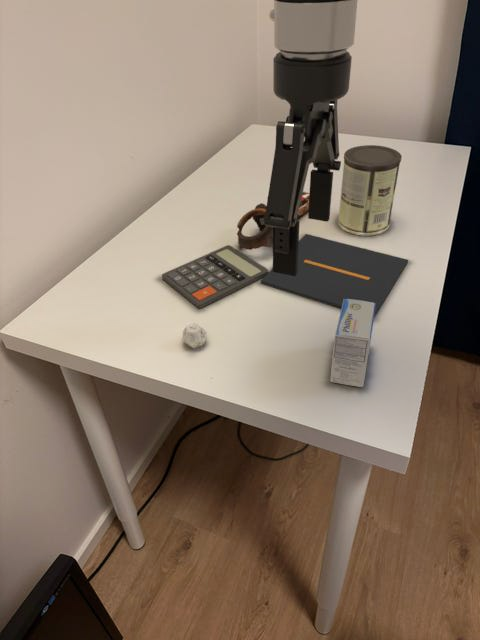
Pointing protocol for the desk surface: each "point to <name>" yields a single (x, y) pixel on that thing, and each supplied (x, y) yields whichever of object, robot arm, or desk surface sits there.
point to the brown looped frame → (266, 231)
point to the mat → (339, 273)
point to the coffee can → (368, 189)
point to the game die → (194, 335)
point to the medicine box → (352, 342)
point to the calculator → (214, 275)
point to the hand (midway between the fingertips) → (303, 243)
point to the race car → (304, 204)
